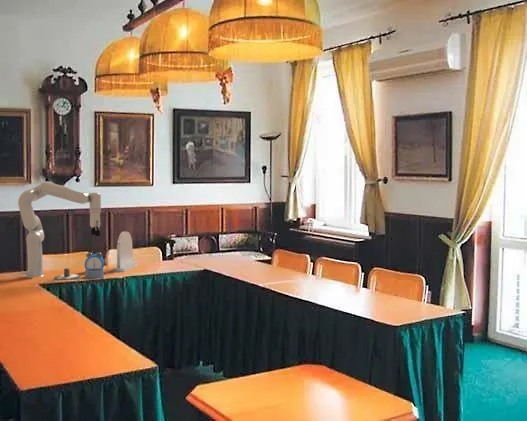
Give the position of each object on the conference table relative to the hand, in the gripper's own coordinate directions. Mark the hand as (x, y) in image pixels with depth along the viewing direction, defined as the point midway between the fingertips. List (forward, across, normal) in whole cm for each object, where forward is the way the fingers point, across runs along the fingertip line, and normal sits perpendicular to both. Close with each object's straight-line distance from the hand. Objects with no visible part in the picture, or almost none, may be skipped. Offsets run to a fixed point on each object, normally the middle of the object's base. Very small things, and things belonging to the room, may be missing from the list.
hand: (95, 235), depth 447 cm
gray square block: (+28, +10, -4) cm, 30 cm away
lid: (+27, +4, -21) cm, 35 cm away
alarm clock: (+28, -10, +2) cm, 30 cm away
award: (+28, -19, +27) cm, 43 cm away
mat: (+28, +4, -21) cm, 35 cm away
